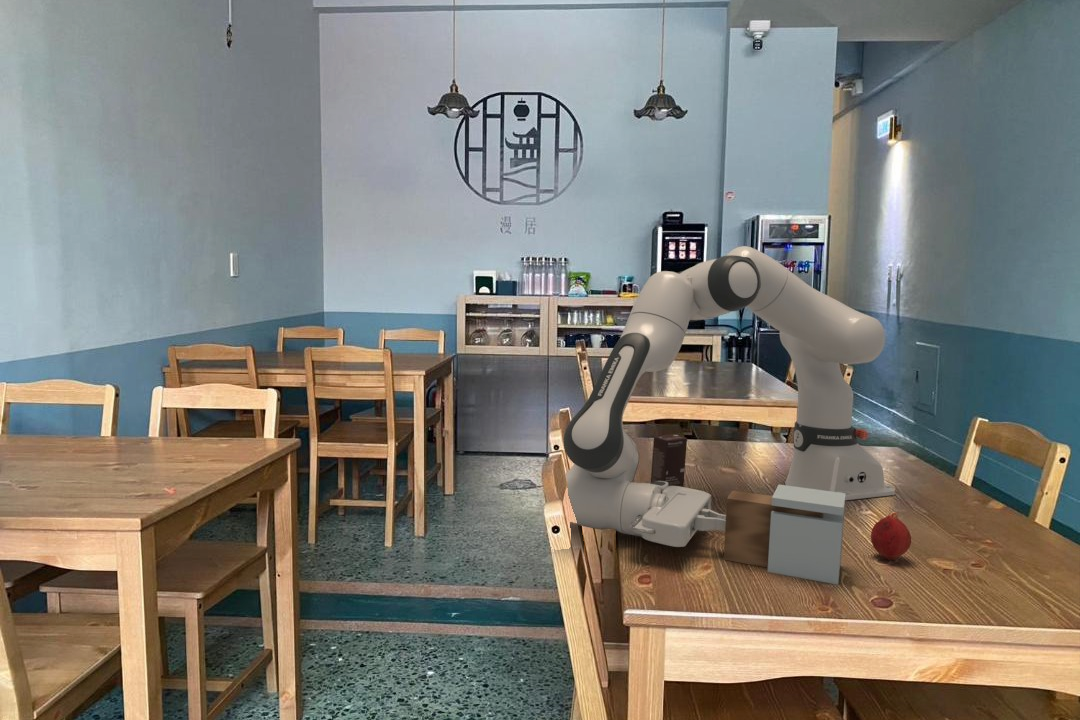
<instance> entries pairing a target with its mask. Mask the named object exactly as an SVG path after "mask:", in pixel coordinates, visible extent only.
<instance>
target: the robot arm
mask: <svg viewBox="0 0 1080 720" xmlns="http://www.w3.org/2000/svg"><path fill="white" fill-rule="evenodd" d="M745 308H746V309H748V310H749V311H750V312H752V313H753V314H754V315H756V317H759V318H760V319H761V320H763V321H764V322H766V323H767V324H768V325H770V326H771V327H772V328H773V329H775V330H777V331H779V340H780V342H781V344H782V346H783V348H784V349H785V350H786V351H787V353H788V355H789V357H790V359H791V361H792V365H793V369H794V372H795V378H796V382H797V410H796V411H797V415H796V417H797V418H796V421H795V422H794V425H793V426H794V429H793V447H794V448H793V454H792V458H791V464H790V467H789V471H788V474H787V477H786V480H785V483H784V485H786V486H794V487H801V488H809V489H816V490H824V491H832V492H839V493H846V496H845V501H850V500H860V499H861V500H862V499H867V498H870V499H871V498H876V497H877V498H878V497H887V496H895V495H896V490H895V488H894V487H893V486H892V485H890V484H888V483H886V482H885V477H884V469H883V466H882V464H881V462H880V461H879V460H878V459H877V458H876V457H874V456H873V455H872V454H871V453H869V452H868V451H867V450H865V449H864V448H863V446H861V445H860V444H859V442H858V439H861V440H867V438H869V431H867V430H865V429H862V428H857V429H856V428H855V427H854V426H853V425H852V421H853V418H852V417H853V409H854V392H853V388H852V387H851V385H850V384H849V382H847V380H846V379H845V378H844V376H843V374H842V370H841V365H840V364H843V365H858V364H859V365H860V364H867V363H870V362H873V361H874V360H876V359H877V358H878V357H879V356H880V355H881V353H882V352H883V350H884V348H885V344H886V333H885V329H884V327H883V324H882V323H881V322H880V320H878V319H877V318H876V317H873V316H870V315H868V314H866V313H863V312H860V311H859V310H856V309H854V308H852V307H850V306H848V305H846V304H845V303H843V302H841V301H839V300H838V299H835V298H833V297H831V296H829V295H827V294H826V293H823V292H821V291H819V290H817V289H816V288H814V287H812V286H811V285H809V284H807V283H806V282H805V281H804V280H802V278H800V277H799V276H798V275H796V274H794V273H793V272H792V271H791V270H790V269H788V268H787V267H786V266H784V265H782V263H780V262H778V261H777V260H776V259H775V258H773V257H771V256H769V255H767V254H765V253H764V252H761V251H760V250H758V249H756V248H754V247H751V246H747V245H742V246H741V245H740V246H738V247H735V248H734V249H731V251H729V252H728V253H727V254H725V255H723V256H720V257H718V258H714V259H710V260H706V261H702V262H699V263H696V264H695V265H694V266H692V267H691V266H690V267H689V268H687V269H685V270H681V271H679V272H675V271H672V270H671V271H668V270H662V271H658V272H655V273H654V274H652V275H651V276H650V277H648V279H647V281H646V282H645V284H644V285H643V287H642V288H641V290H640V292H639V294H638V296H637V298H636V299H635V302H634V304H633V306H632V308H631V311H630V313H629V316H628V318H627V321H626V323H625V326H624V328H623V331H622V333H621V335H620V338H619V339H618V340H617V342H616V343H615V345H614V347H613V349H612V350H611V352H610V353H609V356H608V358H607V360H606V362H605V363H604V367H603V368H602V370H601V372H600V375H598V378H597V379H596V383H595V385H594V387H593V389H592V391H591V393H590V395H589V397H588V398H587V401H586V402H585V403H584V405H583V407H581V409H580V410H579V411H578V412H577V413H576V414H575V415H574V416H573V417H572V419H571V420H570V421H569V423H568V425H567V426H566V429H565V431H564V436H563V448H564V451H565V453H566V455H567V457H568V459H569V460H570V461H571V462H572V463H573V465H572V466H571V467H570V468H569V469H568V471H567V472H566V473H565V474H566V480H567V488H568V496H569V499H570V503H571V506H572V509H573V512H574V514H575V517H576V520H577V524H578V526H581V527H586V528H590V529H595V530H601V531H602V530H603V531H604V530H614V531H616V532H618V533H621V534H624V535H628V536H630V535H632V536H636V537H641V538H643V540H646V541H649V542H652V543H657V544H660V545H665V546H670V547H675V548H681V547H682V548H683V547H684V548H685V547H686V545H687V544H688V543H689V542H690V540H691V539H692V537H693V536H694V535H695V534H696V533H697V531H701V532H704V531H715V530H716V531H720V532H725V526H726V514H722V513H718V512H717V511H715V510H712V494H710V493H708V492H707V491H704V490H700V489H696V488H695V489H694V488H690V487H686V486H683V487H680V486H669V487H668V482H665V481H656V482H652V483H651V482H647V483H646V482H634V479H635V477H636V473H637V470H638V467H639V462H640V453H639V450H638V447H637V445H636V443H635V442H634V440H633V439H632V438H631V436H630V435H629V434H627V432H625V429H624V425H623V416H624V413H625V410H626V409H627V407H628V403H629V402H630V399H631V397H632V394H633V392H634V390H635V388H636V385H637V384H638V381H639V379H640V378H641V376H642V375H643V374H645V373H646V372H647V373H648V372H649V373H654V372H659V371H662V370H665V369H667V368H668V367H670V366H671V365H672V364H673V362H674V360H675V359H676V357H677V355H678V354H679V351H680V350H681V347H682V345H683V342H684V339H685V337H686V333H687V330H688V326H689V322H691V323H693V322H697V321H702V320H710V319H714V318H715V319H716V318H718V317H721V316H723V315H726V314H730V313H731V312H737V311H740V310H742V309H745ZM577 524H576V525H577Z"/></svg>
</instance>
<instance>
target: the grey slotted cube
mask: <svg viewBox="0 0 1080 720" xmlns="http://www.w3.org/2000/svg"><path fill="white" fill-rule="evenodd" d="M772 496H773V497H772V505H773V506H780V507H787V508H794V509H800V510H807V511H814V512H821V513H824V514H823V518H817V517H810V516H804V515H797V514H790V513H783V512H777V511H772V512H771V523H770V539H769V556H768V568H767V572H768V573H771V574H772V573H773V574H777V575H783V576H788V577H789V576H790V577H794V578H798V579H799V578H800V579H805V580H811V581H817V582H821V583H828V584H833V585H839V580H840V569H841V567H842V565H841V564H842V550H843V547H842V546H843V537H844V523H845V522H844V521H845V520H844V519H845V503H846V500H845V496H846V493H839V492H832V491H824V490H816V489H809V488H801V487H794V486H786V485H785V484H778V485H777V487H776V489H775V491H774V493H773V494H772Z"/></svg>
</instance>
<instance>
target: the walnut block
mask: <svg viewBox="0 0 1080 720" xmlns="http://www.w3.org/2000/svg"><path fill="white" fill-rule="evenodd" d="M772 497H773V495H769V494H768V495H767V494H759V493H755V492H746V491H739V490H732V491H731V492H730V493H729V495H728V496H727V498H726V508H725V509H726V511H725V515H726V526H725V531H724V548H723V549H724V550H723V560H724V561H729V562H735V563H740V564H746V565H752V566H758V567H763V568H767V569H768V556H769V539H770V523H771V512H772V511H777V512H783V513H790V514H797V515H804V516H810V517H817V518H823V514H824V513H821V512H814V511H807V510H800V509H794V508H787V507H780V506H773V505H772Z"/></svg>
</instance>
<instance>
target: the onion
mask: <svg viewBox="0 0 1080 720" xmlns="http://www.w3.org/2000/svg"><path fill="white" fill-rule="evenodd" d="M898 517H899V514H898V513H897V512H896V511H892V512H891V511H890V513H889V514H887V515H886V517H883V518H881V519H880V520H879V521H878V522H875V524H874V525H873V526H872V529H871V531H870V542H871V544H872V546H873V548H874V550H875V551H876V552H877V553H878V554H879V555H880V556H882V557H883V558H884V559H885V560H887V561H894V560H896V559H897V558H898V557H901V556H902V555H904V554H905V553H907V552H908V550H909V549H910V547H911V544H912V537H911V533H910V531H909V529H908V527H907V526H906V524H905V523H904V522H903V521H902V520H900V519H899V518H898Z"/></svg>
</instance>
